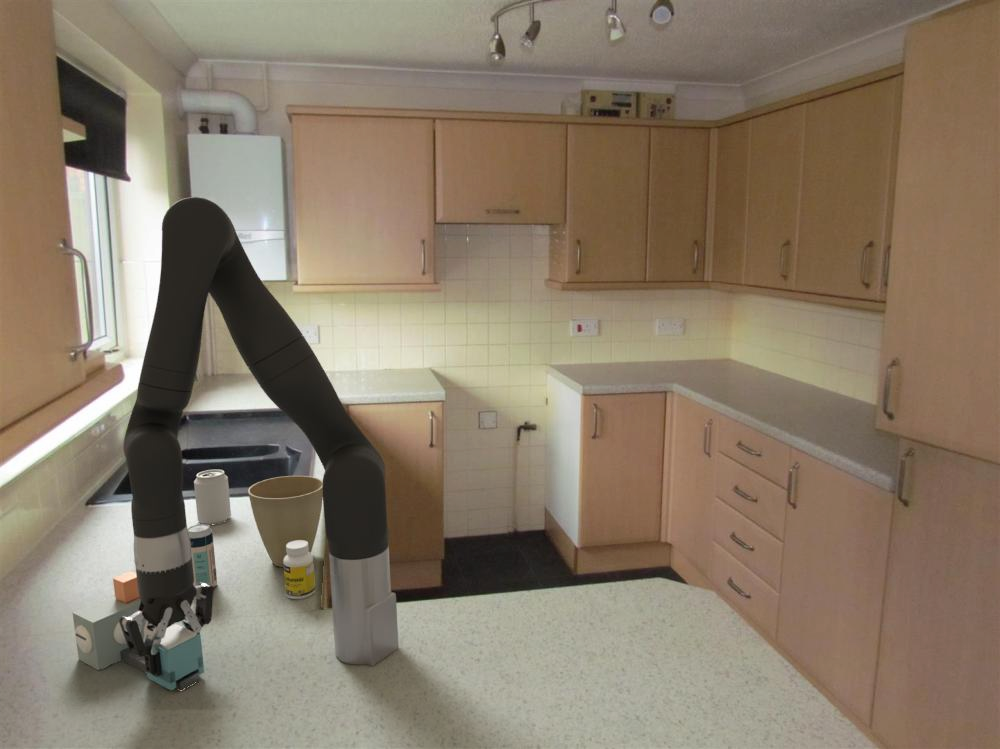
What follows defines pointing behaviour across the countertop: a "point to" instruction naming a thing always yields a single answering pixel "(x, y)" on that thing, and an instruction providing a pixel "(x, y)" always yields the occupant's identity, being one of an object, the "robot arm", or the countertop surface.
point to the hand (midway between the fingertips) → (175, 664)
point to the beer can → (203, 554)
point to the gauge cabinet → (103, 631)
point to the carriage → (178, 656)
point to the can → (212, 497)
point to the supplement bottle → (298, 570)
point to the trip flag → (126, 587)
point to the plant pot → (286, 512)
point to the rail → (140, 663)
